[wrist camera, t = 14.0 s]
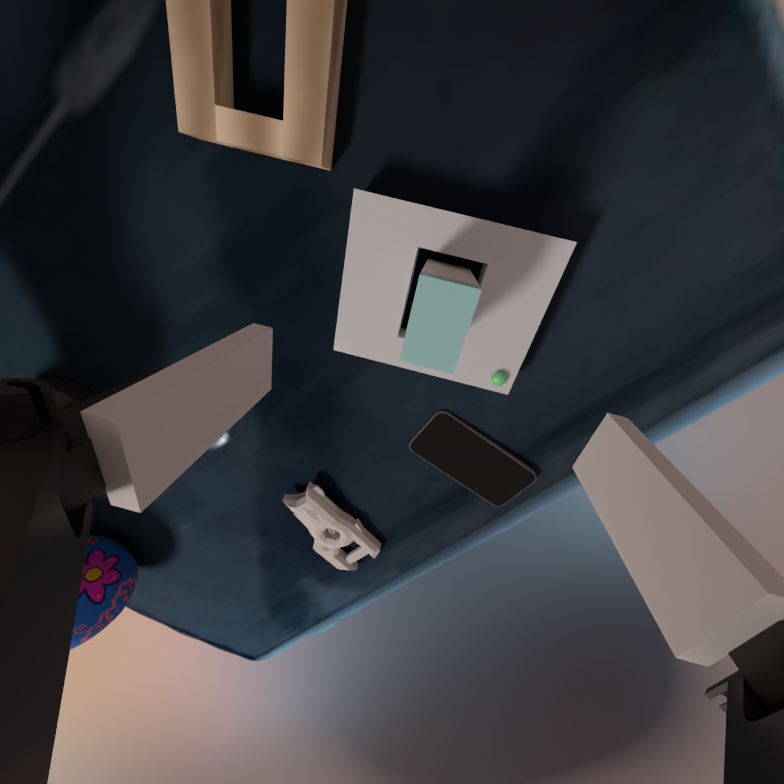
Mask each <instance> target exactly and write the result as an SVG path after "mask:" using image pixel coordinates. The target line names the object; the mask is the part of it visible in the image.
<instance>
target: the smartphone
mask: <svg viewBox="0 0 784 784" xmlns="http://www.w3.org/2000/svg"><path fill="white" fill-rule="evenodd" d="M409 447H410V450H411V451H412V452H413V453H415V454H416V455H418V456H419V457H421V458H422V459H424V460H425V461H427V462H428V463H430V464H431V465H433V466H434V467H436V468H437V469H439V470H441V471H442V472H444V473H445V474H447V475H448V476H450V477H451V478H453V479H454V480H456V481H457V482H459V483H460V484H462V485H463V486H465V487H466V488H468V489H469V490H471V491H472V492H474V493H475V494H477V495H478V496H480V497H481V498H483V499H484V500H486V501H487V502H489V503H490V504H492V505H494V506H503V505H505V504H506V503H507V502H509V501H510V500H511V499H513V498H514V497H515V496H517V495H518V494H519V493H521V492H522V491H523V490H525V489H526V488H527V487H528V486H530V485H531V484H532V483H534V482H535V480H536V474H535V472H534V470H533V469H532V468H530V467H529V466H527V465H526V464H524V463H523V462H521V461H520V460H519V459H517V458H516V457H514V456H513V455H511V454H510V453H508V452H507V451H505V450H504V449H503V448H501V447H500V446H498V445H497V444H495V443H494V442H492V441H491V440H489V439H488V438H486V437H485V436H483V435H482V434H480V433H479V432H477V431H476V430H474V429H473V428H471V427H470V426H468V425H467V424H465V423H464V422H462V421H461V420H459V419H458V418H456V417H455V416H453V415H452V414H450V413H449V412H446V411H439V412H437V413H436V414H435V415H434V416H433V417H432V418H431V419H430V420H429V421H428V423H427V424H426V425H425V426H424V427H423V428H422V429H421V430H420V431H419V432H418V434H417V435H416V436H415V437H414V438H413V439H412V440H411V442H410V445H409Z"/></svg>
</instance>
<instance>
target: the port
mask: <svg viewBox="0 0 784 784" xmlns="http://www.w3.org/2000/svg"><path fill="white" fill-rule="evenodd" d="M576 243H577V242H574V241H570V240H566V239H562V238H557V237H553V236H549V235H545V234H541V233H537V232H532V231H528V230H524V229H520V228H516V227H512V226H508V225H503V224H499V223H495V222H491V221H487V220H483V219H478V218H474V217H470V216H466V215H462V214H458V213H454V212H449V211H445V210H441V209H437V208H433V207H429V206H424V205H420V204H416V203H412V202H408V201H404V200H400V199H395V198H391V197H387V196H383V195H379V194H375V193H371V192H366V191H362V190H358V189H354V193H353V201H352V208H351V216H350V224H349V232H348V240H347V248H346V256H345V263H344V271H343V279H342V287H341V295H340V303H339V311H338V318H337V326H336V334H335V342H334V350H336V351H340V352H344V353H348V354H352V355H356V356H359V357H363V358H367V359H371V360H375V361H379V362H383V363H387V364H391V365H394V366H398V367H402V368H406V369H410V370H414V371H418V372H422V373H425V374H429V375H433V376H437V377H441V378H445V379H449V380H453V381H457V382H460V383H464V384H468V385H472V386H476V387H480V388H484V389H488V390H492V391H495V392H499V393H503V394H507V395H508V393H509V391H510V389H511V387H512V385H513V382H514V380H515V378H516V376H517V373H518V371H519V369H520V367H521V365H522V362H523V360H524V358H525V356H526V354H527V351H528V349H529V347H530V345H531V343H532V340H533V338H534V336H535V334H536V332H537V329H538V327H539V325H540V323H541V321H542V318H543V316H544V314H545V312H546V310H547V307H548V305H549V303H550V301H551V298H552V296H553V294H554V292H555V290H556V287H557V285H558V283H559V281H560V279H561V276H562V274H563V272H564V270H565V268H566V265H567V263H568V261H569V259H570V257H571V254H572V252H573V250H574V248H575V246H576ZM420 248H424V249H428V250H432V251H436V252H440V253H445V254H449V255H453V256H457V257H461V258H465V259H469V260H473V261H477V262H481V263H483V266H482V269H481V272H480V275H479V278H478V281H477V282H478V284H479V286H480V287H481V289H482V291H481V294H480V297H479V300H478V303H477V306H476V309H475V312H474V315H473V317H472V320H471V323H470V326H469V329H468V332H467V335H466V338H465V341H464V344H463V347H462V350H461V353H460V356H459V358H458V361H457V364H456V367H455V370H454V373H453V374H450V373H446V372H442V371H438V370H434V369H431V368H427V367H423V366H419V365H415V364H411V363H407V362H403V361H399V358H400V354H401V350H402V346H403V342H404V338H405V333H406V329H404V328H401V326H402V322H403V318H404V313H405V309H406V305H407V301H408V296H409V292H410V288H411V283H412V279H413V275H414V270H415V266H416V262H417V257H418V253H419V249H420Z"/></svg>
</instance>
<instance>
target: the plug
mask: <svg viewBox="0 0 784 784" xmlns="http://www.w3.org/2000/svg"><path fill="white" fill-rule="evenodd" d="M481 291H482V289H481V287H480V286H479V284H478V282H477V281H476V279H475V277H474V275H473V274H472V272H471V270H470V269H468V268H464V267H460V266H455V265H451V264H447V263H443V262H439V261H435V260H431V259H428V260H427V261H426V263H425V265H424V267H423V269H422V271H421V273H420V275H419V280H418V284H417V288H416V292H415V296H414V300H413V304H412V309H411V313H410V317H409V321H408V325H407V329H406V333H405V338H404V342H403V346H402V350H401V354H400V358H399V361H403V362H407V363H411V364H415V365H419V366H423V367H427V368H431V369H434V370H438V371H442V372H446V373H450V374H453V373H454V370H455V367H456V364H457V361H458V358H459V356H460V353H461V350H462V347H463V344H464V341H465V338H466V335H467V332H468V329H469V326H470V323H471V320H472V317H473V315H474V312H475V309H476V306H477V303H478V300H479V297H480V294H481Z"/></svg>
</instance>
